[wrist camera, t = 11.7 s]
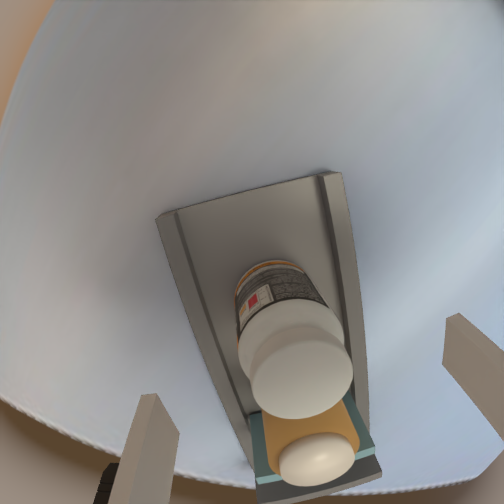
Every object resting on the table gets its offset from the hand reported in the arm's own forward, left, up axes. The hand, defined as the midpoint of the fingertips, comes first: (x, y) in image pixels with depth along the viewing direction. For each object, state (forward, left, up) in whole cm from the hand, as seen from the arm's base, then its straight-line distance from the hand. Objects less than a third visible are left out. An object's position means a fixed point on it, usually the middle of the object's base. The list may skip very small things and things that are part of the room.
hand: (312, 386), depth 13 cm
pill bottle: (0, 0, -11) cm, 11 cm away
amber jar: (+7, 0, -11) cm, 13 cm away
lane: (+6, 0, -11) cm, 13 cm away
